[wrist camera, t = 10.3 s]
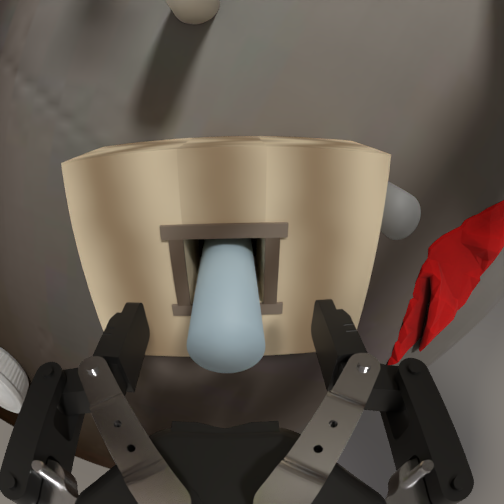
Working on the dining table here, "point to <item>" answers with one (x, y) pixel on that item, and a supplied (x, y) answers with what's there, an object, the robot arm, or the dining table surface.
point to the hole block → (228, 227)
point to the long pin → (226, 308)
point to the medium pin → (194, 10)
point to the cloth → (450, 277)
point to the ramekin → (12, 383)
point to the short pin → (399, 213)
